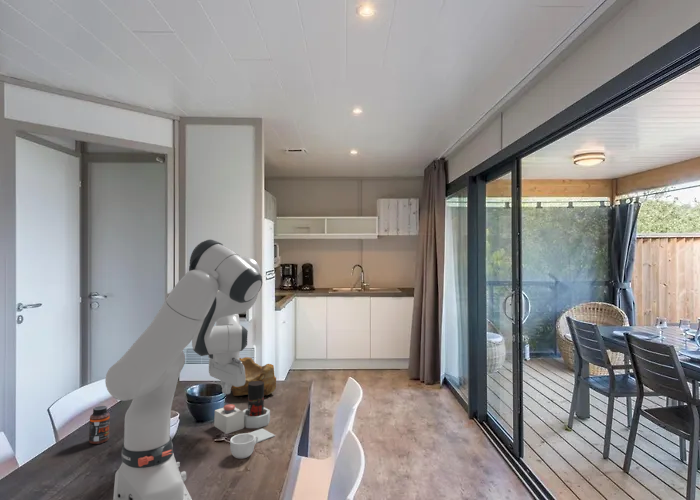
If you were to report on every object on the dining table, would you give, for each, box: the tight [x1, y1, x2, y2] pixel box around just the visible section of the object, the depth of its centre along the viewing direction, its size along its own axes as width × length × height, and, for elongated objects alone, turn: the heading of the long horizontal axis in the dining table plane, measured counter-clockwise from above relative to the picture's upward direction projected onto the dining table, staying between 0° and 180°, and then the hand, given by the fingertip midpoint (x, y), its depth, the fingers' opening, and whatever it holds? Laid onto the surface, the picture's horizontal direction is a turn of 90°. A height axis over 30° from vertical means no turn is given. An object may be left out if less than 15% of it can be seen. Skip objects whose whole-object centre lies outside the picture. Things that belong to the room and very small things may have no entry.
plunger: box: [223, 403, 236, 414], centre depth 155 cm, size 4×4×6 cm
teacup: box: [229, 432, 258, 460], centre depth 135 cm, size 10×8×5 cm
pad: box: [248, 427, 276, 444], centre depth 148 cm, size 8×8×1 cm
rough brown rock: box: [231, 356, 277, 397], centre depth 191 cm, size 23×17×15 cm
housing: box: [213, 406, 271, 435], centre depth 157 cm, size 13×18×6 cm
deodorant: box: [247, 381, 265, 416], centre depth 159 cm, size 6×6×15 cm
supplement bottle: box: [88, 405, 111, 445], centre depth 142 cm, size 6×6×11 cm
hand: (226, 393), depth 155 cm, fingers closed
